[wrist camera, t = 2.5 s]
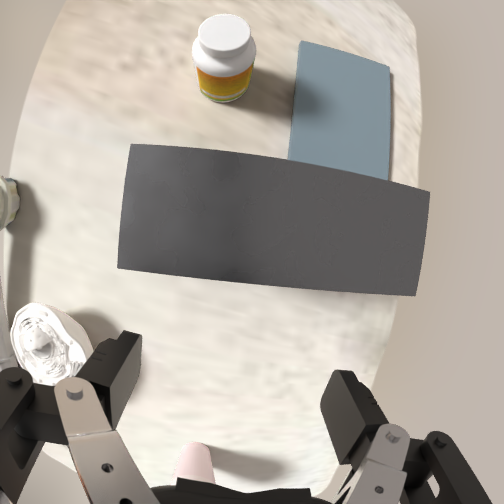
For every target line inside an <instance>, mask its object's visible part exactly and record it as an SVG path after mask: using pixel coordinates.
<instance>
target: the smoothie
mask: <svg viewBox="0 0 504 504" xmlns="http://www.w3.org/2000/svg"><path fill="white" fill-rule="evenodd" d="M177 477H180V478H185V479H190V480H196V481H202V482H209V483H213V484H216V483H215V478H214V472H213V467H212V461H211V455H210V450H209V448H208V447H207V446H206V445H204V444H202V443H198V442H190V443H187V444H185V445H184V446H183V447H182V450H181V453H180V456H179V459H178V462H177V465H176V468H175V471H174V474H173V477H172V480H171V483H170V485H176V481H177Z"/></svg>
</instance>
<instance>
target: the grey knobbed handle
mask: <svg viewBox="0 0 504 504" xmlns="http://www.w3.org/2000/svg"><path fill="white" fill-rule="evenodd" d="M16 186H17V184H16V183H15V182H14V181H13V179H12V178H4V177H3V176H0V231H1V230H2V229H3V228H4V227H5V226H6V225H8V224H10V223H11V222H12V221H13V220H14V219H15V215H16V212H17V210H18V209H19V203H20V196H18V194H17V190H16ZM9 367H18V364H17V360H16V353H15V351H14V348H13V345H12V342H11V336H10V332H9V327H8V322H7V317H6V312H5V306H4V301H3V293H2V286H1V279H0V372H1V371H2V370H3V369H6V368H9Z"/></svg>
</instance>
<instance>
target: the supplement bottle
mask: <svg viewBox="0 0 504 504" xmlns="http://www.w3.org/2000/svg"><path fill="white" fill-rule="evenodd" d="M255 56H256V45H255V42H254V39H253V38H252V36H251V29H250V26H249V24H248V23H247V22H246V21H245V20H244V19H242V18H241V17H239V16H236V15H232V14H218V15H214V16H212V17H210V18H208V19H206V20H205V21H204V22H203V23H202V24H201V26H200V28H199V30H198V37H197V38H196V40H195V41H194V44H193V47H192V58H193V64H194V69H195V75H196V81H197V85H198V88H199V90H200V92H201V93H202V94H203V95H204V96H205V97H206V98H208V99H210V100H212V101H215V102H230V101H233V100H236V99H238V98H239V97H241V96H242V95H243V94H244V93H245V92H246V90H247V88H248V86H249V83H250V78H251V73H252V68H253V64H254V60H255Z"/></svg>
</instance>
